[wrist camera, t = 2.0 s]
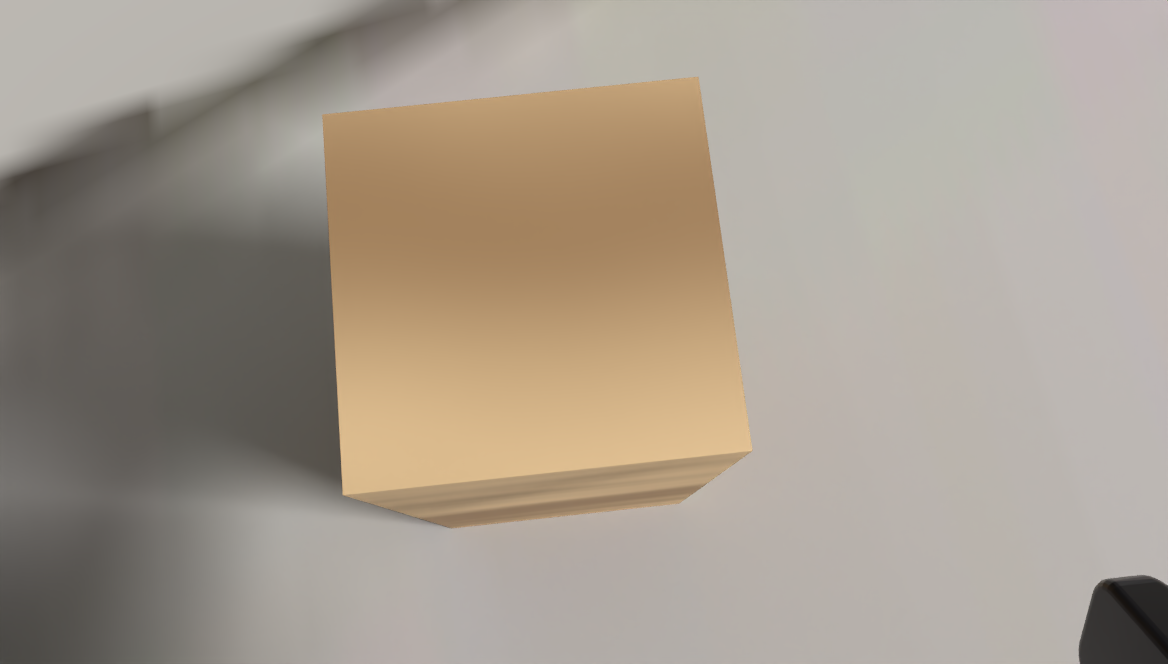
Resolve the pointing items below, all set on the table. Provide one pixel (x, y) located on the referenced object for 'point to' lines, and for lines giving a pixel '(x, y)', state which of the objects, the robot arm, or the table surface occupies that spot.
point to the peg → (531, 304)
